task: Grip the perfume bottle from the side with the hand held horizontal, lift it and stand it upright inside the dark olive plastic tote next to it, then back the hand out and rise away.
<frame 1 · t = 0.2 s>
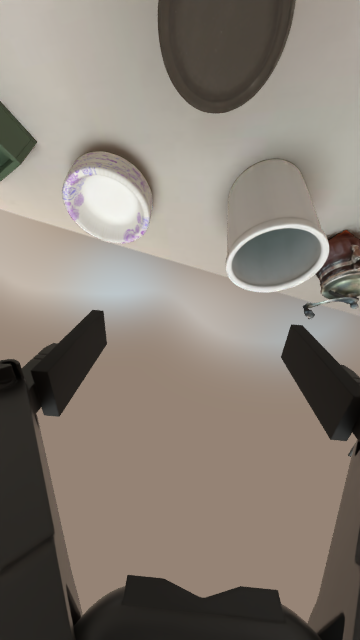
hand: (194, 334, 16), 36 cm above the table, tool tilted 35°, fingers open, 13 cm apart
utensil holder: (262, 195, 43), on the table
coffee grinder: (325, 249, 53), on the table
paper bowls: (116, 185, 43), on the table
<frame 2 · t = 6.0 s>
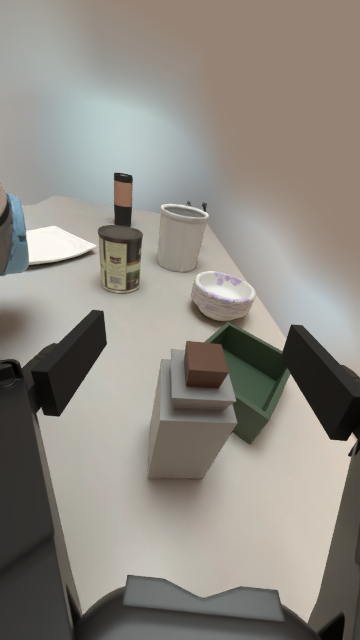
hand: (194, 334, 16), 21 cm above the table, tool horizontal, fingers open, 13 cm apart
coffee can: (120, 284, 61), on the table
utensil holder: (176, 264, 78), on the table
plate: (44, 250, 70), on the table
paper bowls: (216, 311, 58), on the table
perfume bottle: (174, 449, 30), on the table
tote: (231, 385, 39), on the table
travel mug: (122, 225, 104), on the table
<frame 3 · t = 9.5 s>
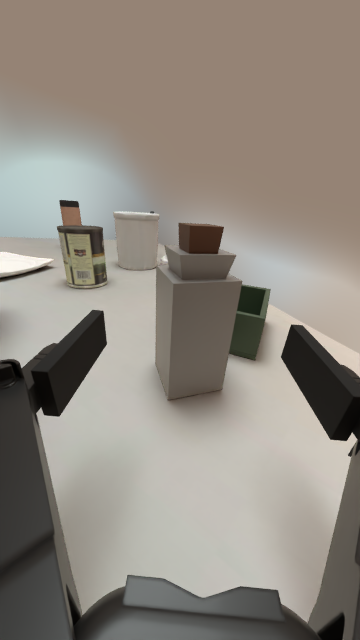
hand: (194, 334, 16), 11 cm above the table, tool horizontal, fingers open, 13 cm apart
coffee can: (87, 283, 60), on the table
utensil holder: (138, 266, 81), on the table
perfume bottle: (186, 376, 29), on the table
tote: (221, 328, 41), on the table
travel mug: (76, 249, 105), on the table
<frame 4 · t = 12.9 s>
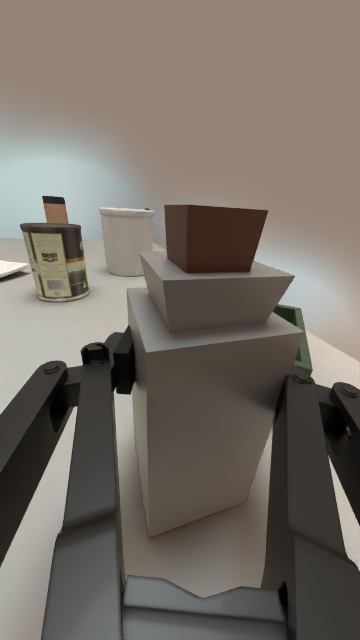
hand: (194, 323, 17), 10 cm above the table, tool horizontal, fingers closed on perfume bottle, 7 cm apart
coffee can: (64, 294, 49), on the table
utensil holder: (130, 271, 70), on the table
perfume bottle: (183, 468, 17), on the table, touching gripper
tote: (233, 363, 29), on the table
travel mug: (62, 251, 94), on the table
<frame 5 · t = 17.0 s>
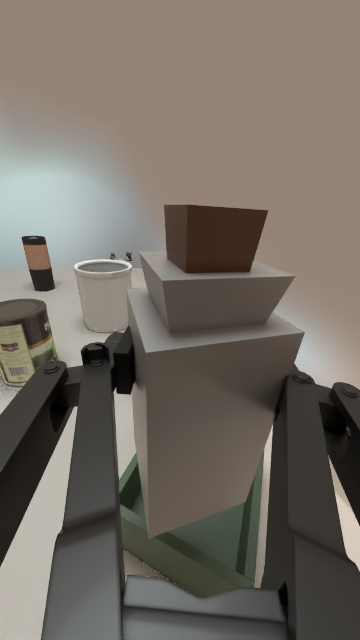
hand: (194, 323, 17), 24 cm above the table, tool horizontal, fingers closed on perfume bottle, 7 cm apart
coffee can: (32, 370, 47), on the table
utensil holder: (109, 322, 68), on the table
perfume bottle: (183, 468, 17), point 14 cm above the table, touching gripper
tote: (192, 497, 27), on the table
travel mug: (45, 288, 91), on the table
when the fingers open (11 cm above the table, at t = 21.6 s): perfume bottle stays where it is, resting on tote.
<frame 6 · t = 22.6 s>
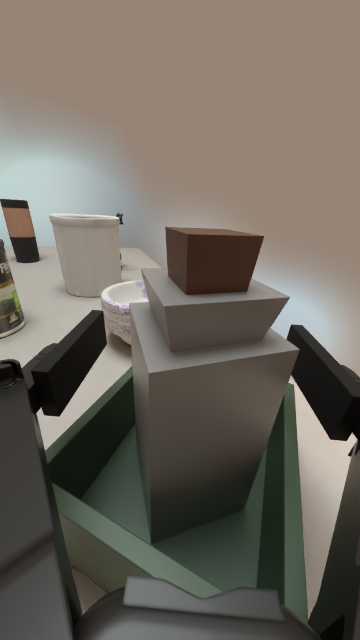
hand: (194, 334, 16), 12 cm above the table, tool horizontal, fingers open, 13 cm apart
utensil holder: (94, 289, 59), on the table
paper bowls: (150, 335, 39), on the table
perfume bottle: (184, 474, 18), point 1 cm above the table, touching tote
tote: (183, 478, 18), on the table
travel mug: (28, 261, 83), on the table
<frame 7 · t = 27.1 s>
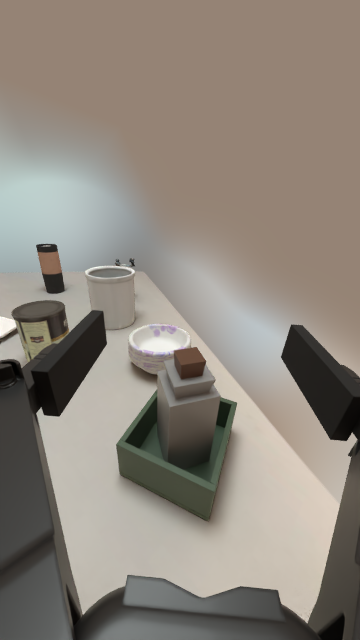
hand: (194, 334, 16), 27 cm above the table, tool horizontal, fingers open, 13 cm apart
coffee can: (52, 360, 56), on the table
utensil holder: (114, 321, 77), on the table
paper bowls: (159, 363, 57), on the table
perfume bottle: (181, 447, 36), point 1 cm above the table, touching tote
tote: (181, 449, 36), on the table
travel mug: (56, 291, 101), on the table
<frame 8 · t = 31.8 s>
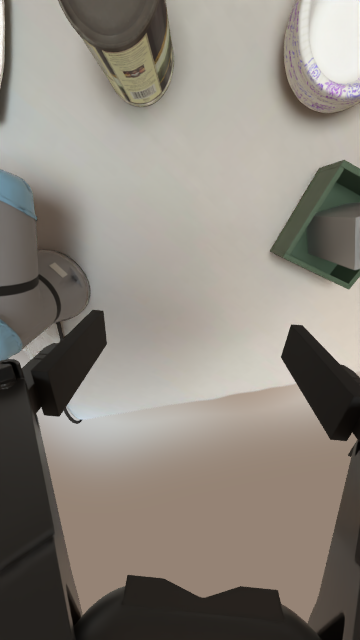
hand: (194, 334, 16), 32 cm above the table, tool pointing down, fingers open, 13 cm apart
coffee can: (139, 61, 33), on the table
paper bowls: (330, 52, 31), on the table
perfume bottle: (326, 229, 40), point 1 cm above the table, touching tote
tote: (323, 229, 41), on the table
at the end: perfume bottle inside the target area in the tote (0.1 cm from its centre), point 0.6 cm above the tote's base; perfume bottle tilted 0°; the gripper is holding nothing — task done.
